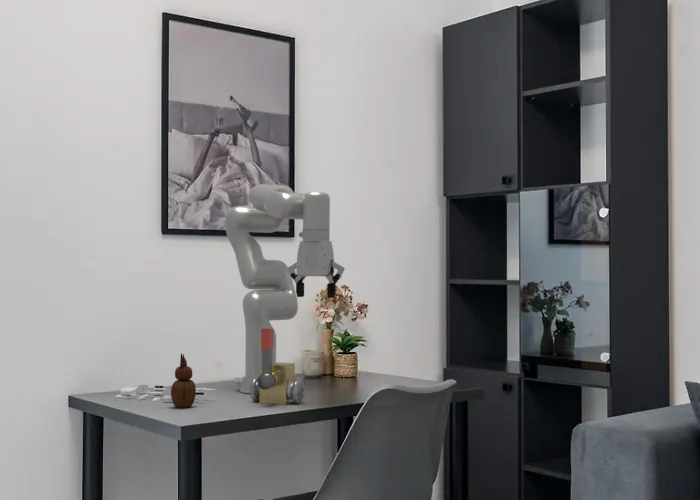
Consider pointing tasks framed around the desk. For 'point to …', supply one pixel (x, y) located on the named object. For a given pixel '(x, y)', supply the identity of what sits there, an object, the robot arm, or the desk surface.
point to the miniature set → (144, 388)
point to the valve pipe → (279, 386)
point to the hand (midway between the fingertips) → (315, 297)
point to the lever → (266, 360)
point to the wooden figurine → (183, 386)
